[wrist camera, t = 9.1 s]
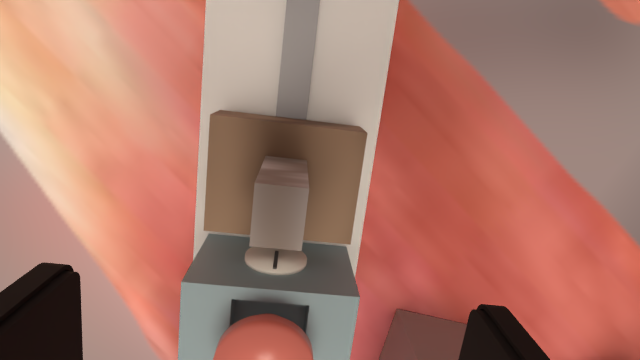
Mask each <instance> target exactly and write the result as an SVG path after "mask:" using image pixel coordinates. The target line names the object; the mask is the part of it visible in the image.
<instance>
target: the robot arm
mask: <svg viewBox="0 0 640 360" xmlns="http://www.w3.org/2000/svg"><path fill="white" fill-rule="evenodd" d="M82 354H83V352H82V321H81V290H80V275H79V273H77V272H74V271H73V268H72V267H71V266H70V265H64V264H54V263H41V264H39V265H37V266H36V267H35V268H33V269H32V270H31V271H29V272H28V273H26V274H25V275H23V276H22V277H21V278H19V279H18V280H17V281H15V282H14V283H13V284H11V285H10V286H8V287H7V288H6V289H4V290H3V291H2V292H0V360H83V355H82ZM458 360H550V359H549V358H548V356H547V355H546V354H545V353H544V352H543V350H542V349H541V348H540V347H539V346H538V344H537V343H536V342H535V341H534V340H533V338H532V337H531V336H530V335H529V334H528V332H527V331H526V330H525V329H524V328H523V326H522V325H521V324H520V323H519V322H518V321H517V319H516V318H515V317H514V316H513V315H512V313H511V312H510V311H509V310H508V309H507V308H506V307H504V306H495V305H485V304H481V305H479V306H478V308H477V310H472V311H471V312H470V315H469V319H468V323H467V327H466V331H465V335H464V339H463V343H462V347H461V351H460V355H459V359H458Z"/></svg>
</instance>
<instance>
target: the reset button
mask: <svg viewBox="0 0 640 360" xmlns="http://www.w3.org/2000/svg"><path fill="white" fill-rule="evenodd" d="M213 360H313V349H312V345H311V342H310V340H309V338H308V336H307V335H306V333H305V332H304V331H303V330H302V329H301V328H300V327H299V326H298V325H296V324H295V323H294V322H292V321H290V320H288V319H286V318H283V317H281V316H278V315H276V314H271V313H264V314H259V315H253V316H249V317H246V318H243V319H241V320H239V321H237V322H236V323H234V324H233V325H231V326H230V327H229V328H228V329H227V330H226V331H225V332H224V333H223V335H222V336H221V338H220V340H219V342H218V345H217V348H216V351H215V355H214V358H213Z"/></svg>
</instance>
